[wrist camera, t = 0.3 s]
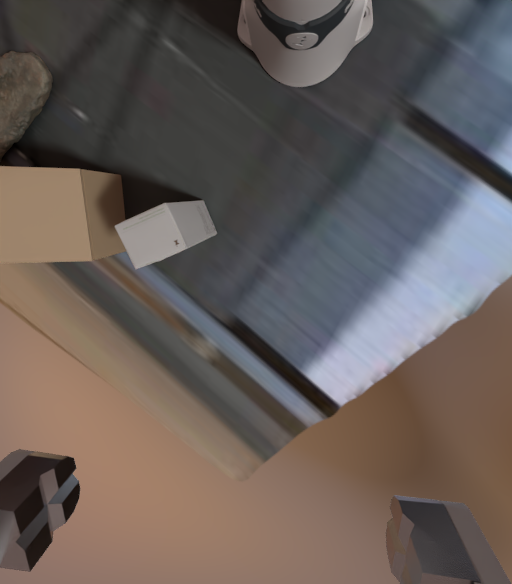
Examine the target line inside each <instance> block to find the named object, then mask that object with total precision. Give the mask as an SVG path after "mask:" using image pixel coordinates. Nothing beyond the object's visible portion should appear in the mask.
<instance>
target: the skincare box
mask: <svg viewBox="0 0 512 584" xmlns="http://www.w3.org/2000/svg"><path fill="white" fill-rule="evenodd" d="M115 228H116V230H117V232H118V234H119V237H120V239H121V241H122V243H123V245H124V247H125V249H126V251H127V253H128V255H129V257H130V259H131V261H132V263H133V265H134V267H135V269H138V268H141V267H144V266H146V265H149V264H152V263H154V262H157V261H161V260H163V259H165V258H167V257H169V256H172V255H174V254H177V253H179V252H181V251H183V250H185V249H187V248H189V247H192V246H194V245H196V244H198V243H200V242H202V241H204V240H206V239H208V238H210V237H212V236H214V235H216V234H217V232H216V229H215V227H214V224H213V222H212V220H211V217H210V215H209V212H208V210H207V208H206V205H205V203H204V201H203V200H199V201H185V202H172V203H163V204H161V205H159V206H156V207H154V208H152V209H149V210H147V211H145V212H143V213H141V214H138V215H136V216H134V217H132V218H129V219H127V220H125V221H123V222H121V223H119V224H117V225H115Z"/></svg>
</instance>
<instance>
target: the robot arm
mask: <svg viewBox="0 0 512 584" xmlns="http://www.w3.org/2000/svg"><path fill="white" fill-rule="evenodd" d="M364 14H365V17H364ZM363 17H364V18H363ZM245 23H246V24H245ZM372 25H373V14H372V0H242V2H241V9H240V15H239V21H238V28H237V32H238V37H239V39H240V41H241V42H242V43H243V44H244V45H245V46H247V47H248V48H249V49H251V50H252V51H253V52H254V53H255V54H256V56H257V58H258V59H259V61H260V63H261V65H262V66H263V68H264V69H265V70H266V72H267V73H268V74H269V75H270V76H271V77H273V78H274V79H275V80H277V81H279V82H280V83H283V84H285V85H288V86H293V87H305V86H310V85H314V84H317V83H319V82H321V81H323V80H324V79H326V78H327V77H329V76H330V75H331V74H333V73H334V72H335V71H336V70H337V69H338V67H339V66H340V65H341V64H342V62H343V61H344V59H345V58H346V56H347V55H348V53H349V52H350V50H351V49H352V48H353V47H354V46H355V45H356V44H358V43H359V42H360V41H362V40H363V39H364V38H365V37H366V36H367V35H368V34H369V33H370V31H371V29H372ZM75 469H76V465H75V461H74V458H72V457H68V456H62V455H55V454H49V453H43V452H34V451H28V450H21V449H19V450H16V451H14V452H11V453H10V454H9V455H8V456H7V457H5V458H4V459H3V460H2V461H1V462H0V567H1V568H7V569H14V570H22V571H29V572H30V571H31V570H32V569H33V567H34V566H35V564H36V563H37V562H38V560H39V559H40V558H41V556H42V555H43V554H44V552H45V551H46V549H47V548H48V547H49V545H50V544H51V543H52V539H53V531H54V530H56V529H57V528H59V527H60V526H62V525H63V524H65V523H66V522H67V520H68V519H69V518H70V516H71V515H72V513H73V512H74V510H75V507H76V505H77V502H78V500H79V495H80V485H79V481H78V480H77V479H76V478H75V476H74V475H73V472H74V471H75ZM390 510H391V513H392V516H393V518H392V519H391V520H389V521H388V522H387V529H386V547H387V554H388V559H389V563H390V568H391V572H392V573H393V574H394V576H395V577H396V578H397V579H398V581H399V582H400V584H511V582H510V581H509V579H508V577H507V575H506V574H505V572H504V570H503V568H502V567H501V565H500V563H499V561H498V559H497V558H496V556H495V554H494V552H493V550H492V549H491V547H490V545H489V543H488V542H487V540H486V538H485V536H484V535H483V533H482V531H481V529H480V527H479V526H478V524H477V522H476V520H475V518H474V517H473V515H472V513H471V511H470V510H469V508H468V507H467V506H466V505H465V504H464V503H456V502H447V501H438V500H432V499H422V498H413V497H403V496H393V498H392V499H391V504H390Z"/></svg>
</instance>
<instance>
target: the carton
mask: <svg viewBox="0 0 512 584" xmlns="http://www.w3.org/2000/svg"><path fill="white" fill-rule="evenodd" d="M81 174H82V181H83V189H84V196H85V203H86V211H87V218H88V226H89V233H90V240H91V248H92V255H93V260H97V259H100V258H104V257H107V256H111V255H114V254H118V253H121V252H125V251H126V249H125V247H124V245H123V243H122V241H121V239H120V237H119V234H118V232H117V230H116V228H115V225H117V224H119V223H121V222H123V221H125V220H126V219H125V209H124V200H123V190H122V180H121V175H117V174H110V173H104V172H97V171H90V170H84V169H81Z"/></svg>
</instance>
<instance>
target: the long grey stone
mask: <svg viewBox="0 0 512 584" xmlns="http://www.w3.org/2000/svg"><path fill="white" fill-rule="evenodd" d="M52 82H53V78H52V75H51V73H50V71H49V69H48V68H47V66H46V64H45V63H44V62H43V60H42V59H41V58H40V57H39V56H37V55H35V54H34V53H32V52H28V53H21V52H19V53H17V52H14V51H10V52H9V53H5V54H4V55H3V56H2V57H0V162H1V161H2V157H3V156H4V154H5V152H7V151H8V150H9V148H11V147H12V144H13V143H14V142H18V141H19V140H20V139H21V138H22V136H23V134H24V133H25V130H26V129H27V128H28V127H29V125H30V124H31V123H32V122H33V120H34V118H35V117H36V116H37V115H39V114H40V112H41V111H42V106H44V104H45V102H46V100H47V99H48V98H49V94H50V91H51V88H52Z"/></svg>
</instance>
